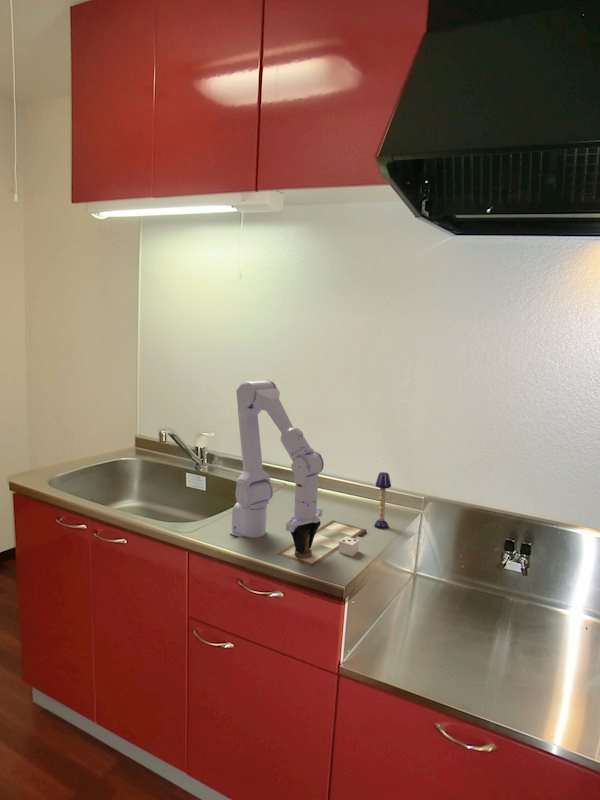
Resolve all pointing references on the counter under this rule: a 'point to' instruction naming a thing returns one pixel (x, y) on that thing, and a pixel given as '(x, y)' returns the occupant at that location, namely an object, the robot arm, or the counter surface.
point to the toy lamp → (382, 498)
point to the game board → (324, 542)
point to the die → (348, 546)
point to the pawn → (307, 551)
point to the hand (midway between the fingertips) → (303, 549)
